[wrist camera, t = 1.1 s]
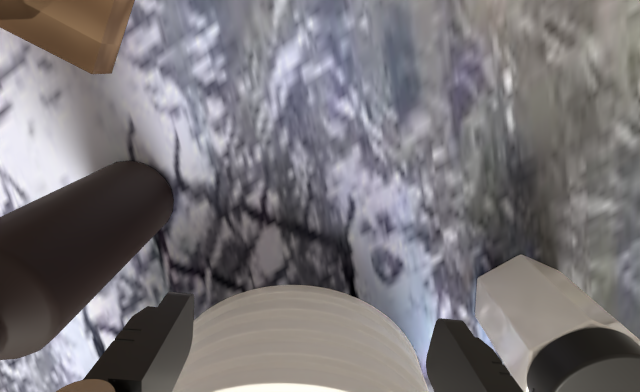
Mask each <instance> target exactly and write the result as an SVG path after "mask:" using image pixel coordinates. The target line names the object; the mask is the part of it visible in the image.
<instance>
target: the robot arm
mask: <svg viewBox="0 0 640 392" xmlns="http://www.w3.org/2000/svg"><path fill="white" fill-rule="evenodd" d="M193 320H194V295H193V294H187V293H177V292H168V293H167V294H166V296H165V297H164V299H163V300H162V301H161V303H160V304H159V306H158V307H146V308H144V309H143V310H141V311H140V312H138V313H137V314H135V315H134V316H132V318H131V319H130V320H129V321H128V323H127V324H126V325H125V327H124V328H123V331H121V332H120V333H119V334H118V335H117V337H116V338H115V341H113V342H112V343H111V344H110V346H109V347H108V348H107V350H106V351H105V352H104V353H103V355H102V356H101V357H100V359H99V360H98V361H97V362H96V364H95V365H94V366H93V368H92V369H91V370H90V371H89V373H88V374H87V375H86V377H85V378H84V379H83V380H81V381H77V382H74V383H71V384H69V385H67V386H65V387H63V388H61V389H59V390H58V391H56V392H172V391H173V389H174V387H175V384H176V382H177V380H178V378H179V375H180V373H181V371H182V369H183V367H184V364H185V362H186V360H187V358H188V355H189V352H190V349H191V344H192V338H193ZM426 369H427V374H428V378H429V380H430V382H431V385H432V387H433V389H434V391H435V392H524V391H523V390H522V389H521V387H520V386H519V385H518V383H517V382H516V381H515V379H514V378H513V377H512V376H510V372H509V371H508V370H507V368H506V367H505V366H504V365H502V362H501V360H500V359H499V357H498V356H497V355H496V353H495V352H494V351H493V349H492V348H490V347H489V346H488V345H487V344H485V343H484V342H483V341H482V340H481V339H479V338H475V337H474V336H473V334H472V333H471V331H470V330H469V329H468V327H467V326H466V324H465V323H464V322H463V321H461V320H451V319H438V320H437V321H436V324H435V327H434V331H433V335H432V339H431V342H430V346H429V350H428V354H427V359H426Z"/></svg>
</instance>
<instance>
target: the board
mask: <svg viewBox="0 0 640 392" xmlns="http://www.w3.org/2000/svg"><path fill="white" fill-rule="evenodd" d="M134 1H135V0H0V27H1V28H3V29H5V30H7V31H9V32H10V33H12V34H14V35H16V36H18V37H20V38H22V39H24V40H26V41H28V42H30V43H32V44H34V45H36V46H38V47H40V48H42V49H44V50H46V51H48V52H50V53H52V54H53V55H55V56H57V57H59V58H61V59H63V60H65V61H67V62H69V63H71V64H73V65H75V66H77V67H79V68H81V69H83V70H85V71H87V72H89V73H91V74H109V73H112V70H113V67H114V64H115V61H116V57H117V54H118V51H119V48H120V45H121V42H122V38H123V35H124V32H125V29H126V26H127V23H128V19H129V16H130V13H131V10H132V7H133V4H134Z"/></svg>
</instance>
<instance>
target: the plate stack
mask: <svg viewBox="0 0 640 392" xmlns="http://www.w3.org/2000/svg"><path fill="white" fill-rule="evenodd" d="M172 392H428V388H427V385H426V382H425V379H424V376H423V374H422V371H421V367H420V364H419V361H418V358H417V355H416V353H415V351H414V349H413V347H412V345H411V343H410V341H409V340H408V338H407V337H406V335H405V334H404V333H403V332H402V330H401V329H400V328H399V327H398V326H397V325H396V324H395V323H394V322H393V321H392V320H391V319H390V318H389V317H387V316H386V315H385V314H384V313H382V312H381V311H379V310H378V309H376V308H375V307H373V306H371V305H370V304H368V303H366V302H364V301H362V300H360V299H358V298H356V297H353V296H351V295H348V294H345V293H342V292H339V291H335V290H331V289H327V288H322V287H316V286H307V285H277V286H268V287H262V288H257V289H253V290H249V291H246V292H242V293H239V294H237V295H234V296H232V297H229V298H227V299H225V300H223V301H221V302H219V303H217V304H216V305H214V306H212V307H211V308H209V309H208V310H206V311H205V312H204V313H202V314H201V315H200V316H199V317H198V318H196V319H195V320H194V321H193V338H192V344H191V349H190V352H189V355H188V358H187V360H186V362H185V364H184V367H183V369H182V371H181V373H180V375H179V378H178V380H177V382H176V384H175V387H174V389H173V391H172Z"/></svg>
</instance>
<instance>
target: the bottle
mask: <svg viewBox="0 0 640 392" xmlns="http://www.w3.org/2000/svg"><path fill="white" fill-rule="evenodd" d="M173 202H174V199H173V195H172V191H171V188H170V187H169V185H168V183H167V182H166V180H165V178H163V177H162V176H161V175H160V174H159V173H158V172H157V171H156V170H155V169H153V168H151V167H149V166H147V165H145V164H143V163H138V162H134V161H122V162H116V163H114V164H111V165H109V166H107V167H105V168H103V169H101V170H98V171H96V172H94V173H92V174H90V175H88V176H86V177H84V178H82V179H80V180H77V181H75V182H73V183H71V184H69V185H67V186H65V187H63V188H61V189H58V190H56V191H54V192H52V193H50V194H48V195H46V196H44V197H42V198H40V199H37V200H35V201H33V202H31V203H29V204H27V205H25V206H23V207H21V208H18V209H16V210H14V211H12V212H10V213H8V214H6V215H4V216H2V217H0V360H6V359H17V358H21V357H24V356H26V355H29V354H32V353H34V352H37V351H39V350H41V349H42V348H43V347H44V346H45V345H47V344H48V343H49V342H50V341H51V340H52V339H53V338H54V337H56V336H57V335H58V334H59V332H60V331H61V330H62V329H63V328H64V327H65V326H66V325H67V324H68V323H69V322H70V321H71V320H72V319H73V318H74V317H75V316H76V315H77V314H78V313H79V312H80V311H81V310H82V309H83V308H84V307H85V306H86V305H87V304H88V303H89V302H90V301H91V300H92V299H93V298H94V297H95V296H96V295H97V293H98V292H99V291H100V290H101V289H102V288H103V287H104V286H105V285H106V284H107V283H108V282H109V281H110V280H111V279H112V278H113V277H114V276H115V275H116V274H117V273H118V272H119V271H120V270H121V269H122V268H123V267H124V266H125V265H126V264H127V263H128V262H129V261H130V260H131V259H132V258H133V257H134V256H135V255H136V253H137V252H138V251H139V250H140V249H141V248H142V247H143V246H144V245H145V244H146V243H147V242H148V241H149V240H150V239H151V238H152V237H153V236H154V235H155V234H156V233H157V232H158V231H159V230H160V229H161V228H162V227H163V226H164V225H165V224H166V223H167V222H168V220H169V218H170V216H171V214H172V212H173Z"/></svg>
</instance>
